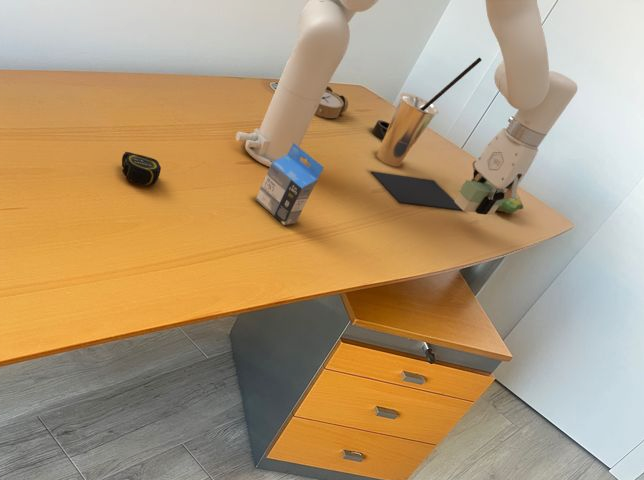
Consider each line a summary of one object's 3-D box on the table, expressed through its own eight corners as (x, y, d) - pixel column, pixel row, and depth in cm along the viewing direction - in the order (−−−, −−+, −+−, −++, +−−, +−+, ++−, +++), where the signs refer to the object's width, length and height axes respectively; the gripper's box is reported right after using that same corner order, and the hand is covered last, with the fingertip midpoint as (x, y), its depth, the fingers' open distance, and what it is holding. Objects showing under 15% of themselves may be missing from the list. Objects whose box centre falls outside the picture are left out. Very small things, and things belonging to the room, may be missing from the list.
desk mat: (399, 202, 158) (399, 201, 158) (370, 172, 167) (371, 171, 166) (462, 210, 167) (463, 209, 167) (432, 181, 175) (433, 180, 175)
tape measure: (155, 174, 131) (160, 156, 129) (156, 193, 126) (163, 174, 124) (119, 165, 129) (125, 147, 127) (120, 184, 124) (125, 165, 122)
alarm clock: (295, 89, 185) (328, 77, 193) (289, 106, 189) (322, 94, 197) (327, 110, 181) (360, 97, 189) (321, 127, 184) (353, 113, 193)
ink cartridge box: (253, 199, 136) (279, 142, 129) (267, 198, 139) (292, 141, 131) (283, 226, 132) (311, 168, 124) (296, 223, 134) (325, 167, 127)
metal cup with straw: (412, 178, 172) (482, 59, 153) (370, 161, 172) (435, 40, 153) (409, 161, 181) (476, 46, 162) (369, 145, 180) (431, 28, 161)
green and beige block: (462, 211, 154) (477, 189, 151) (452, 201, 157) (466, 179, 153) (494, 215, 159) (509, 194, 155) (483, 205, 161) (498, 185, 158)
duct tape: (362, 131, 186) (368, 121, 185) (376, 125, 194) (381, 116, 192) (387, 145, 184) (392, 135, 182) (400, 139, 191) (405, 129, 190)
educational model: (477, 210, 170) (490, 191, 167) (460, 180, 182) (472, 161, 179) (522, 225, 172) (536, 207, 169) (502, 194, 184) (515, 176, 181)
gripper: (488, 111, 150) (441, 185, 161) (538, 151, 139) (484, 227, 150) (512, 116, 153) (464, 188, 165) (563, 156, 142) (508, 230, 154)
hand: (474, 206), depth 157 cm, fingers closed on green and beige block, 4 cm apart
